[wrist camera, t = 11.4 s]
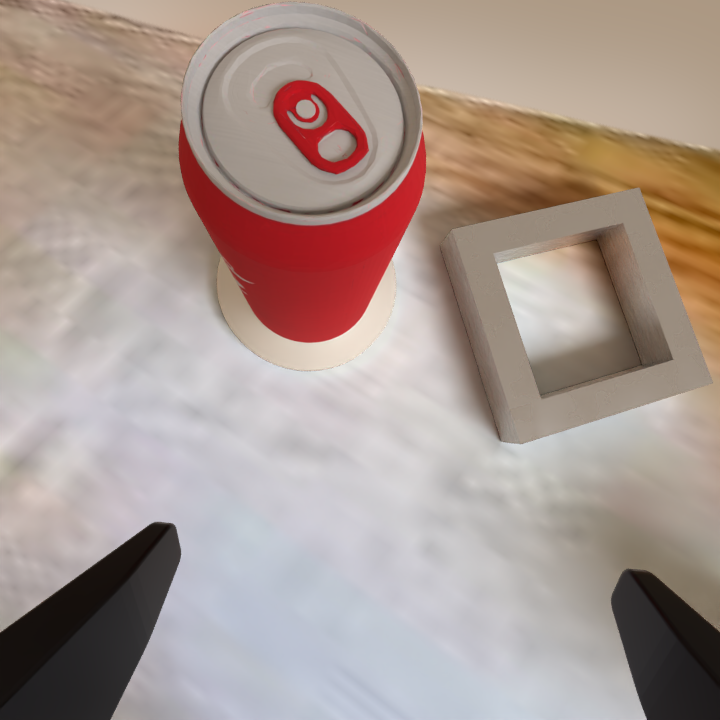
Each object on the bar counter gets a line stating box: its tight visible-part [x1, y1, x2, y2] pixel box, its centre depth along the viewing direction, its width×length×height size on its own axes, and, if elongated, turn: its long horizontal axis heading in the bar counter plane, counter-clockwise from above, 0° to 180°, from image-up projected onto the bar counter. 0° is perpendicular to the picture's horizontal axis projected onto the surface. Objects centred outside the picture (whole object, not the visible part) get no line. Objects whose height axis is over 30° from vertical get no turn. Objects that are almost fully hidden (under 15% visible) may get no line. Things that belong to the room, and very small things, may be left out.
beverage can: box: [179, 2, 426, 343], centre depth 15 cm, size 6×6×12 cm
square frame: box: [440, 188, 713, 444], centre depth 22 cm, size 11×11×2 cm
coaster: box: [217, 256, 396, 371], centre depth 21 cm, size 9×9×1 cm
